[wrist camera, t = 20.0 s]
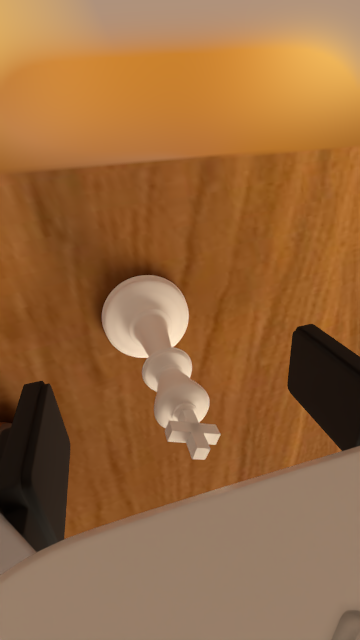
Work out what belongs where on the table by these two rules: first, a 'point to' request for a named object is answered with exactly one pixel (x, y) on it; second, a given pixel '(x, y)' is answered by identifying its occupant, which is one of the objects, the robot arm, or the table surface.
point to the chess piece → (161, 355)
